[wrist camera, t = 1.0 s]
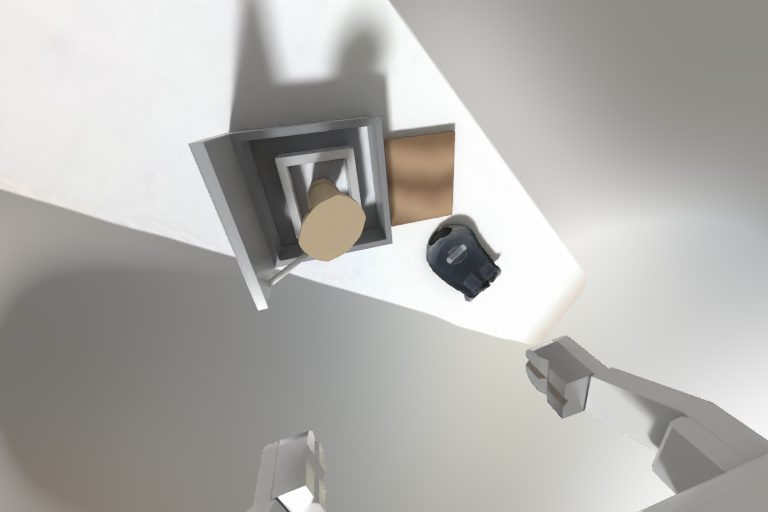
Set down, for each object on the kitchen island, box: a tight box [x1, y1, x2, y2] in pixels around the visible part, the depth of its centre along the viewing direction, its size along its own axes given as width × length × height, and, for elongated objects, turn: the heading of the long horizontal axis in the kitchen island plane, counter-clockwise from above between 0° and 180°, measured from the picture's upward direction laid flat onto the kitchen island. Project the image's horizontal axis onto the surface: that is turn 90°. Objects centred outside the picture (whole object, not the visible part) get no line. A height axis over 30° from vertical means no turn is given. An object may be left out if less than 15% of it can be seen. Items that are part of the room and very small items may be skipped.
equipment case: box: [189, 116, 392, 310], centre depth 31 cm, size 16×17×13 cm
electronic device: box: [426, 225, 501, 302], centre depth 47 cm, size 9×6×15 cm
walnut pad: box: [383, 131, 455, 226], centre depth 39 cm, size 12×10×1 cm
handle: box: [299, 177, 366, 261], centre depth 30 cm, size 5×6×15 cm
